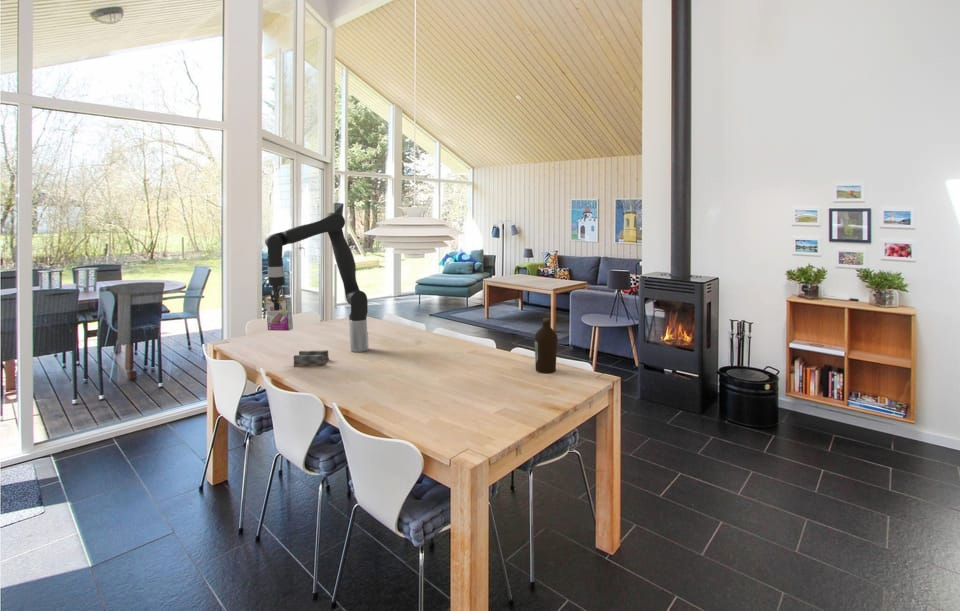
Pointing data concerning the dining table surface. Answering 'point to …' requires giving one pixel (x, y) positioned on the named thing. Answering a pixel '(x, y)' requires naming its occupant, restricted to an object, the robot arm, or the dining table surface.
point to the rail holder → (311, 358)
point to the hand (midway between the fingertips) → (278, 309)
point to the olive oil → (545, 348)
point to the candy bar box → (279, 314)
